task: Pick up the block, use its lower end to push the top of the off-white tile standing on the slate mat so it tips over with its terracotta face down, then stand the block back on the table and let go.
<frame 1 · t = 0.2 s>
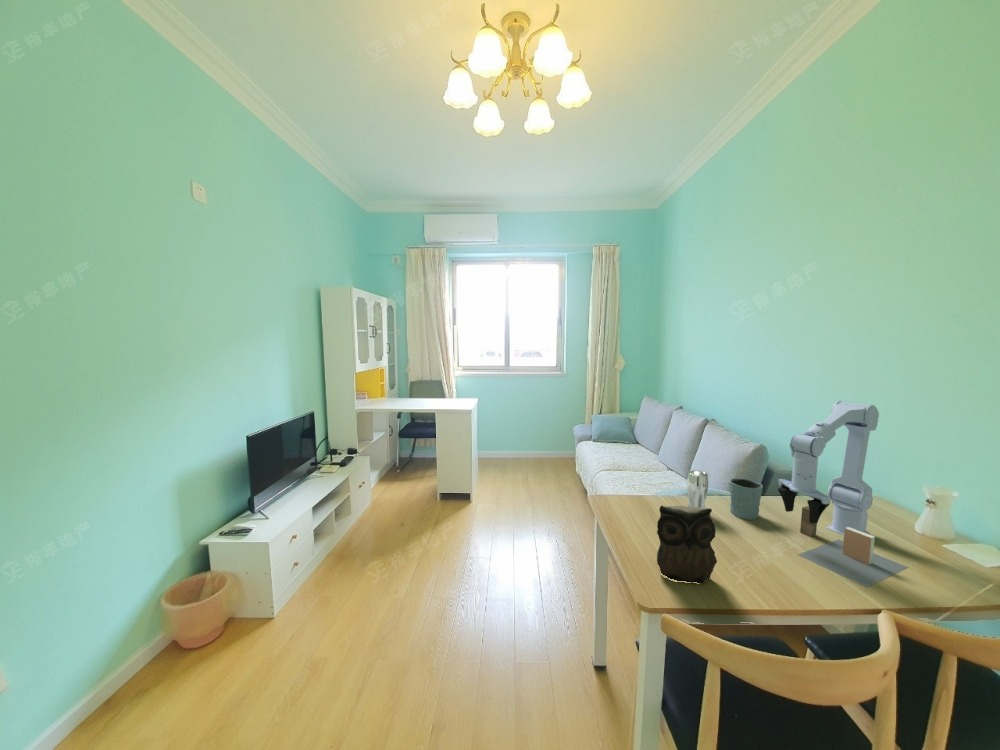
hand: (800, 516, 115), 10 cm above the table, tool pointing down, fingers open, 7 cm apart
tile: (856, 558, 109), resting on mat
silver upright cylinder: (696, 512, 139), on the table
blue-grey cup: (743, 514, 138), on the table
block: (807, 534, 123), on the table
mat: (851, 562, 108), on the table
owl: (682, 572, 103), on the table
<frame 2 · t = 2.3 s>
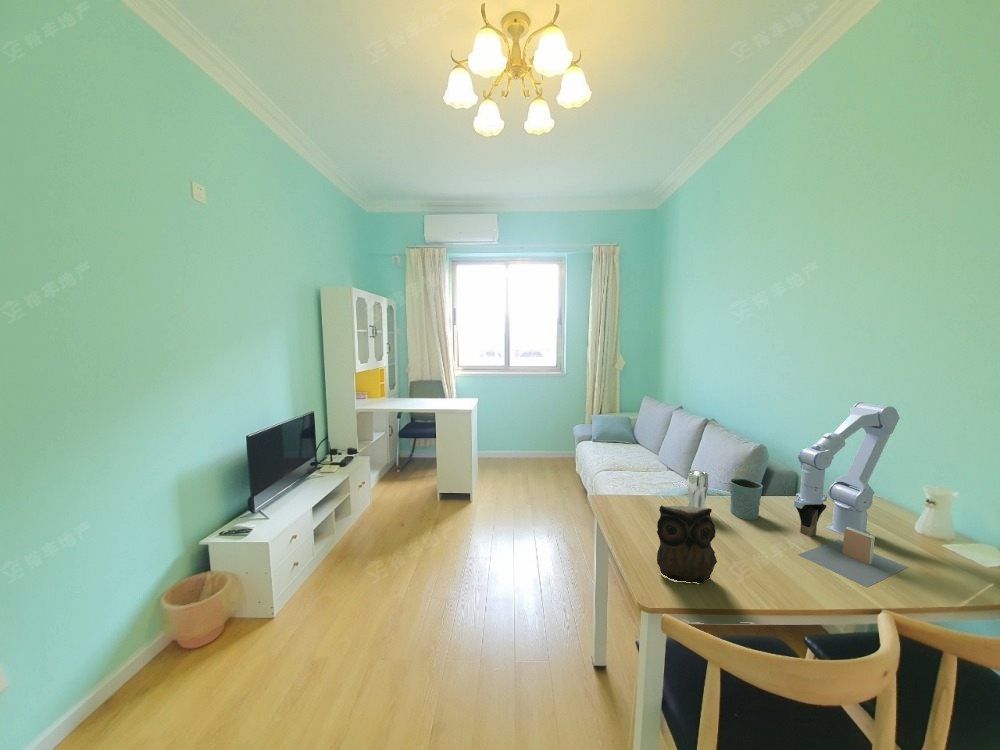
hand: (808, 524, 123), 3 cm above the table, tool pointing down, fingers closed on block, 3 cm apart
block: (807, 534, 123), on the table, touching gripper
everything else where it was.
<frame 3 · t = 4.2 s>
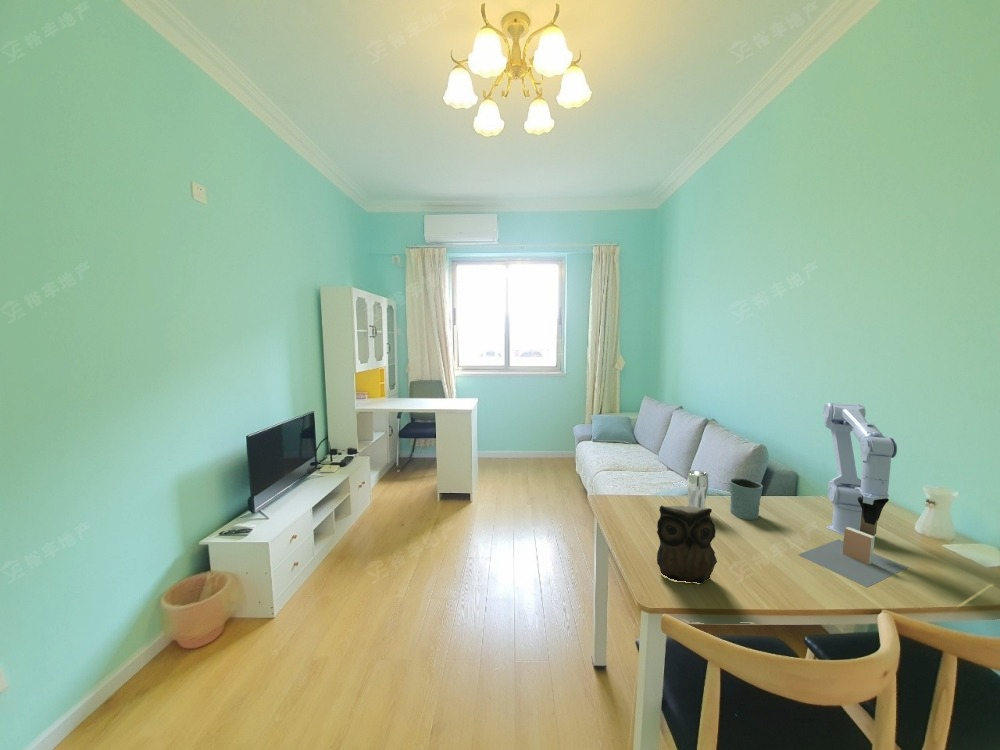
hand: (871, 521, 111), 10 cm above the table, tool pointing down, fingers closed on block, 3 cm apart
block: (867, 532, 111), point 7 cm above the table, touching gripper
everything else where it was.
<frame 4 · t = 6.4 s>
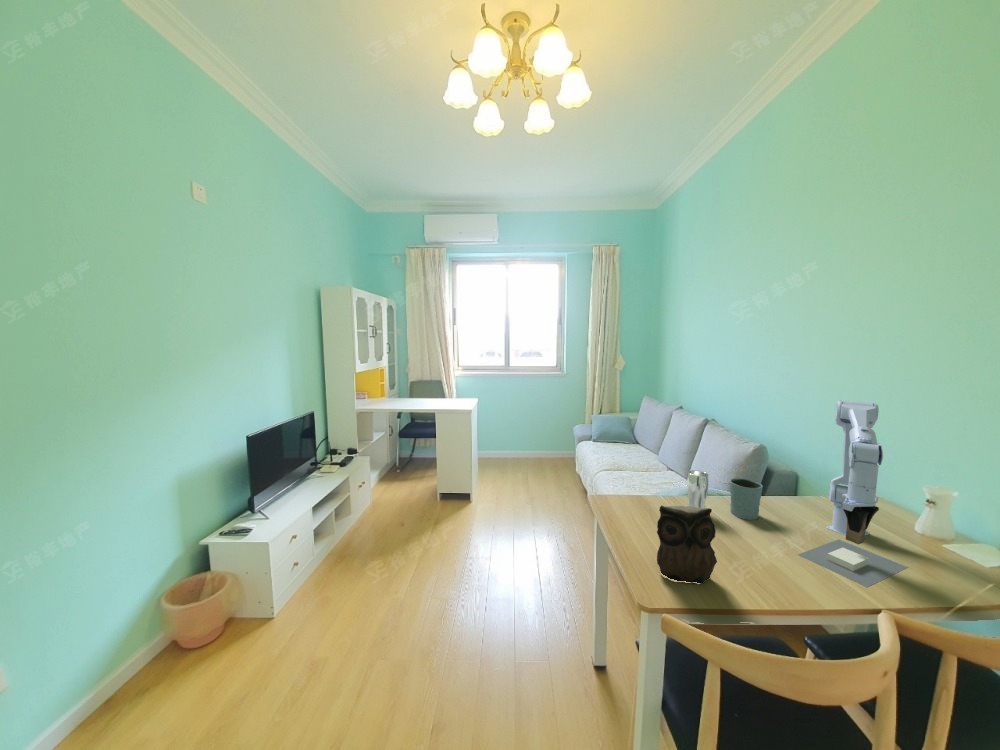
hand: (857, 529, 108), 9 cm above the table, tool pointing down, fingers closed on block, 3 cm apart
tile: (855, 555, 109), point 1 cm above the table, tilted 90°, touching mat
block: (854, 540, 108), point 6 cm above the table, touching gripper
everything else where it was.
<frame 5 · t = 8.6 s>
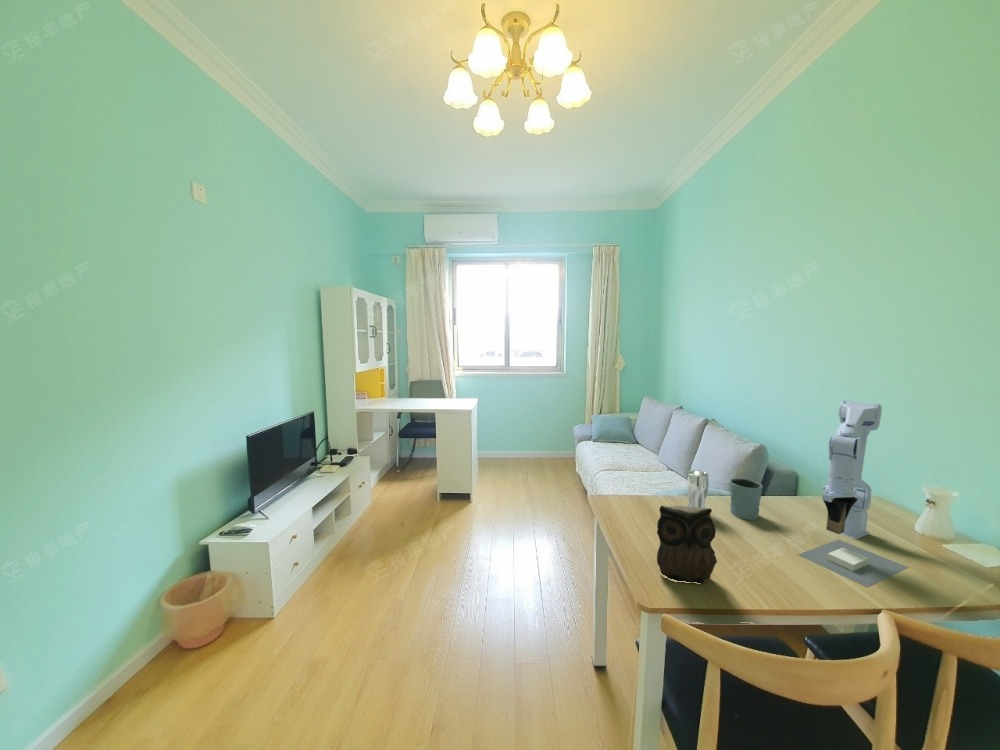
hand: (837, 520, 112), 10 cm above the table, tool pointing down, fingers closed on block, 3 cm apart
block: (835, 530, 112), point 7 cm above the table, touching gripper
everything else where it was.
when the fingers open (5 cm above the table, at t = 10.6 s): block drops 1 cm, on the table.
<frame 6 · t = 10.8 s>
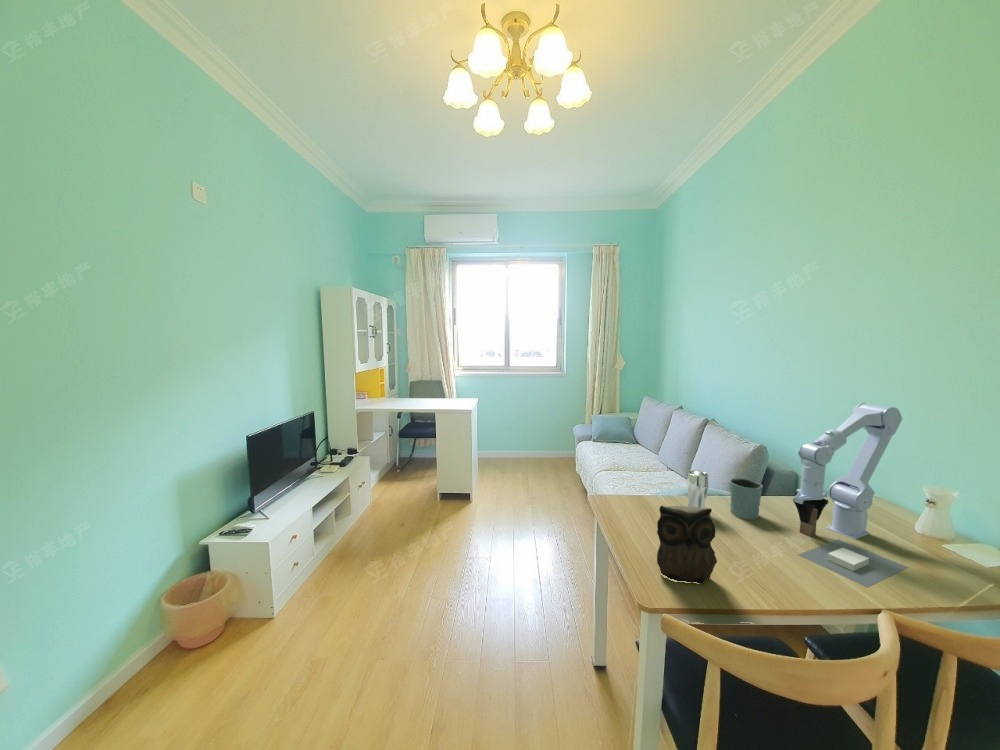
hand: (809, 520, 123), 5 cm above the table, tool pointing down, fingers open, 5 cm apart
block: (807, 534, 123), on the table
everything else where it was.
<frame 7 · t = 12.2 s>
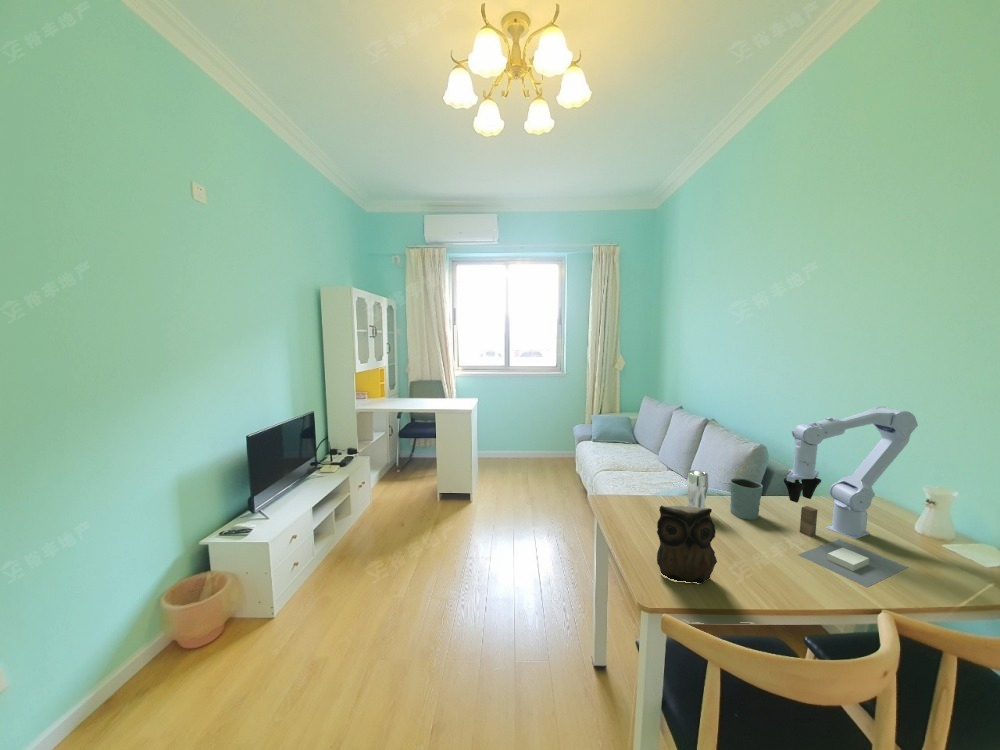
hand: (800, 499, 126), 10 cm above the table, tool pointing down, fingers open, 7 cm apart
nothing on the table moved.
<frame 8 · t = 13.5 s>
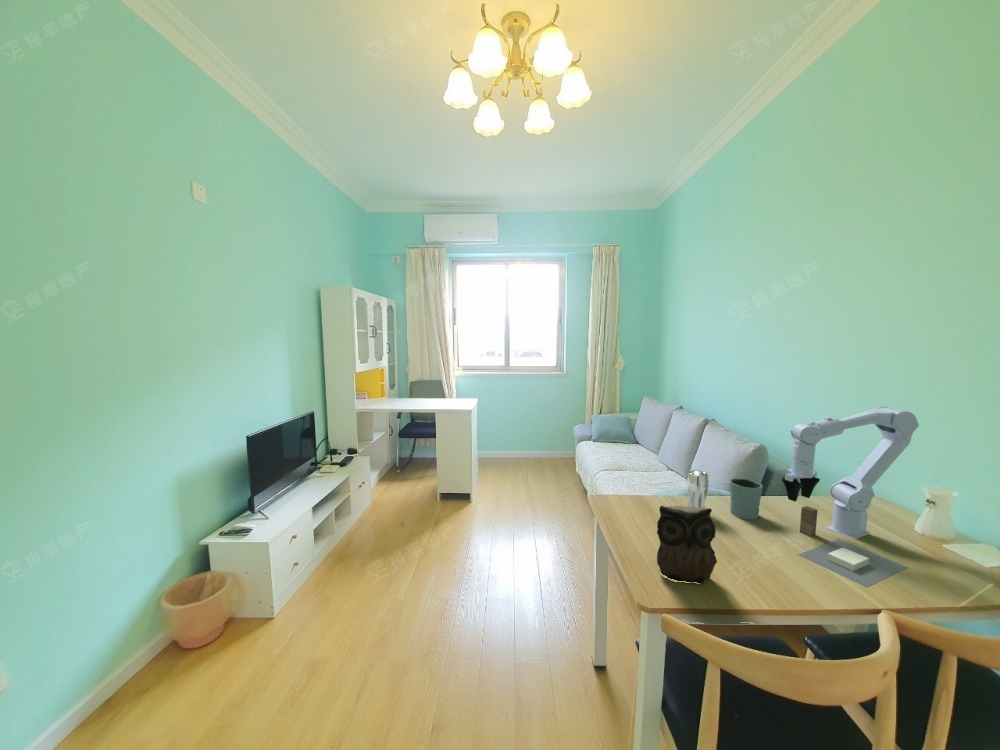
hand: (798, 498, 127), 10 cm above the table, tool pointing down, fingers open, 7 cm apart
nothing on the table moved.
at the end: tile tilted 90°; tile inside the target area on the mat (2.4 cm from its centre), point 1.4 cm above the mat's base; block inside the target area (0.2 cm from its centre), on the table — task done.
